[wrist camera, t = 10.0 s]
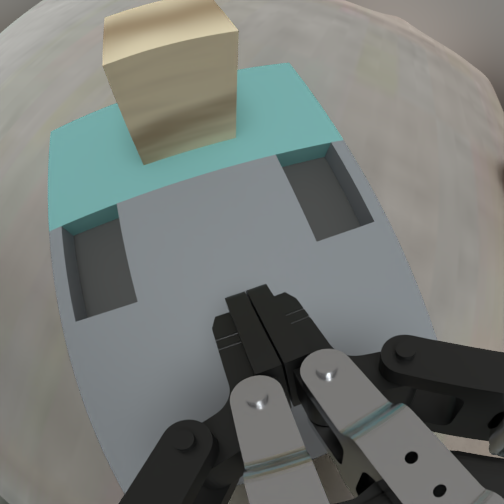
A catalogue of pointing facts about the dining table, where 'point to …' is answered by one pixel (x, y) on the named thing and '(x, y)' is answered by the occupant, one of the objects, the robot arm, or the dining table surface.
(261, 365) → the robot arm
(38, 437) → the dining table surface
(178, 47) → the maple block
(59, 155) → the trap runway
